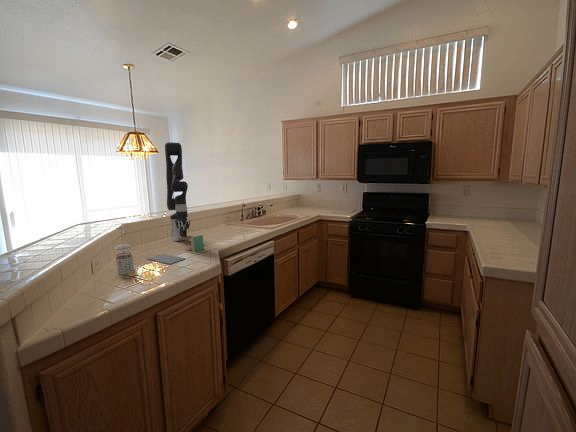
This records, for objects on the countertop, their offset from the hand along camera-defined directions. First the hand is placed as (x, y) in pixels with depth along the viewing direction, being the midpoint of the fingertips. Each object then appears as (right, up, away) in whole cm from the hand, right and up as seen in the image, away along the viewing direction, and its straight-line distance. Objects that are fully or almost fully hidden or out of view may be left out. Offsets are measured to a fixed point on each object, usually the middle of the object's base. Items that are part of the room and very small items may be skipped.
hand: (183, 234), depth 196 cm
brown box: (+3, -2, -1) cm, 4 cm away
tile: (+12, -10, -5) cm, 17 cm away
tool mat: (-2, -14, -23) cm, 27 cm away
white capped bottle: (-15, -18, -43) cm, 49 cm away
